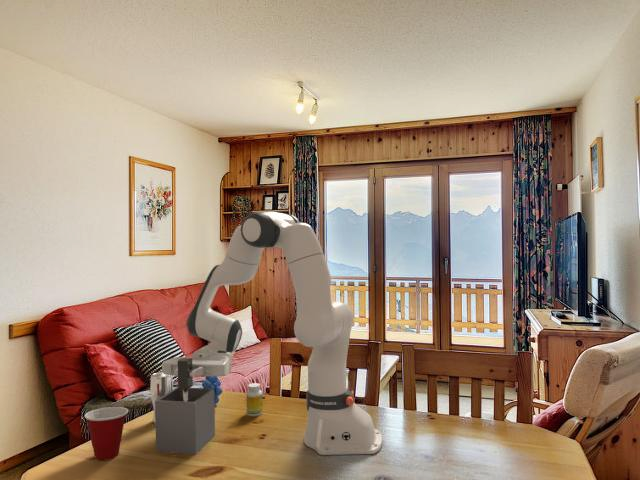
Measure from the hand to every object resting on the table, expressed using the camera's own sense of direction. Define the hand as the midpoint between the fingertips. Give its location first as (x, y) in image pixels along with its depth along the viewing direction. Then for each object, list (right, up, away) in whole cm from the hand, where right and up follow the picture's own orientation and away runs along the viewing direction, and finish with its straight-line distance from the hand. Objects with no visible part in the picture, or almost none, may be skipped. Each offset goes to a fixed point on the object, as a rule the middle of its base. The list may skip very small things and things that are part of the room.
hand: (183, 374), depth 125 cm
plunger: (+1, -18, +1) cm, 18 cm away
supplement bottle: (+17, -20, +22) cm, 34 cm away
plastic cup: (-19, -21, -6) cm, 29 cm away
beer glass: (-12, -21, +17) cm, 30 cm away
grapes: (+2, -20, +28) cm, 35 cm away
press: (+1, -20, +1) cm, 20 cm away
